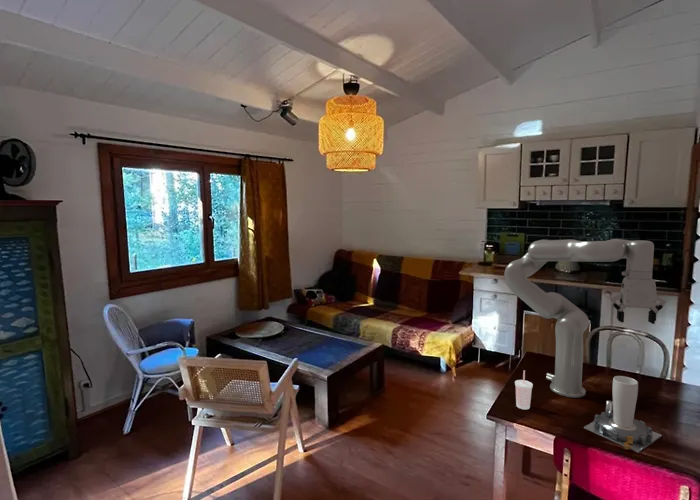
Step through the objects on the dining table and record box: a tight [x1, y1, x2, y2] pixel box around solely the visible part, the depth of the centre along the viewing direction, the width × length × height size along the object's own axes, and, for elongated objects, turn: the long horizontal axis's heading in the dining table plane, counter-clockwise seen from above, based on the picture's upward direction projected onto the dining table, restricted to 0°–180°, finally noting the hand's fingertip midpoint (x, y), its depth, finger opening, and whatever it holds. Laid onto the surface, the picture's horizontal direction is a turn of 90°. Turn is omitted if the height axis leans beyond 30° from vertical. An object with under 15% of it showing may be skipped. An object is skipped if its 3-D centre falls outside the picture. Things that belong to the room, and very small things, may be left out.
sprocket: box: [593, 400, 653, 444], centre depth 129 cm, size 16×16×7 cm
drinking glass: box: [611, 375, 639, 427], centre depth 128 cm, size 7×7×15 cm
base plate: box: [583, 421, 663, 453], centre depth 128 cm, size 16×18×1 cm
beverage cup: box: [514, 370, 534, 410], centre depth 146 cm, size 6×6×14 cm
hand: (635, 322), depth 141 cm, fingers open, 9 cm apart
